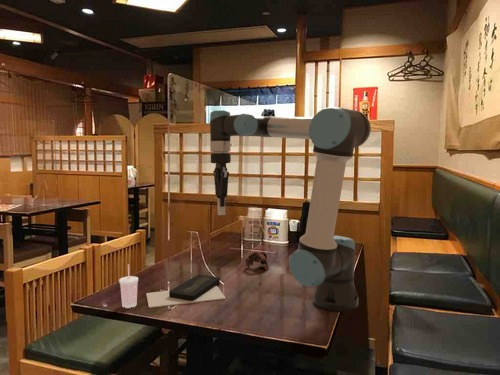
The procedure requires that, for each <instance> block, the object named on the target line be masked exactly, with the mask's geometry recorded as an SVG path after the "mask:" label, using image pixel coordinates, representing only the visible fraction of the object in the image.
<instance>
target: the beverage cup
mask: <svg viewBox="0 0 500 375" xmlns="http://www.w3.org/2000/svg"><path fill="white" fill-rule="evenodd" d="M118 282H119V286H120V295H121V296H120V297H121V306H122V308H124V307H125V309H131V307H132V308H134V307H136V306H137V301H138V285H139V284H138V282H139V277H138V276H133V275H130V264H127V276H123V277H121V278H119V279H118Z"/></svg>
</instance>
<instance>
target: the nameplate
mask: <svg viewBox="0 0 500 375" xmlns="http://www.w3.org/2000/svg"><path fill="white" fill-rule="evenodd" d="M220 278H221V277H219V276H212V275H206V274H205V275H204V274H197V275H195V276H193V277H191V278H190V279H187V280H186V281H184V282H182V283H180V284H179V285H177V286H176V287H174V288H172V289H171V290H168V291H169V297H171V298H176V299H182V300H187V301H194V300H196V299H197V298H199V297H200V296H201V295H203V294H204V293H206V292H207V291H209V290H210V289H212V288H213V287H215V286H218V285H219V284H220V282H221V279H220Z"/></svg>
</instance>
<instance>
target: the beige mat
mask: <svg viewBox="0 0 500 375" xmlns="http://www.w3.org/2000/svg"><path fill="white" fill-rule="evenodd" d="M169 291H170V290H164V291H163V290H161V291H154V292H147V293H145V294H146V295H145V296H146V300H147V305H148V308H149V309H153V308H162V307H170V306H178V305H187V304H194V303H203V302H204V303H205V302H211V301H212V302H213V301H221V300H222V301H223V300H226V297H225V294H224V293H223V292H222V291H221V289H220V288H219V286H218V285H216V286H215V287H213V288H212V289H210V290H209V291H207V292H206V293H204V294H203V295H201V296H200V297H199V298H197V299H196V300H194V301H187V300H182V299H176V298H171V297H169Z"/></svg>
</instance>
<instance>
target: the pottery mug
mask: <svg viewBox="0 0 500 375" xmlns="http://www.w3.org/2000/svg"><path fill="white" fill-rule="evenodd" d="M267 259H268V254H267V253H266V252H264V251H262V252H260V251H255V252H253V253H251V254H249V255H248V256H247V257H246V258H245V259H244V262H245V266H246V267H248V268H250V266H254V262H255V263H260V265H263V268H264V270H265V272H266V271H268V270H269V269H270V267H269V264H268V260H267Z"/></svg>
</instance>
